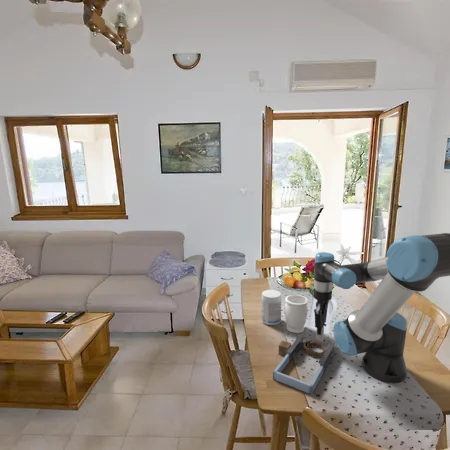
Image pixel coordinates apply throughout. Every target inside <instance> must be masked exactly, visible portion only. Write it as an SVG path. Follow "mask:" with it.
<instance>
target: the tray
mask: <svg viewBox="0 0 450 450" xmlns="http://www.w3.org/2000/svg"><path fill="white" fill-rule="evenodd" d="M288 363H290V361H289V354H286V356H284V357H283V359H281V360H280V362H279V363H278V364H277V366H276V367H275V369H273V372H272V380H275V381H277V382H279V383H282V384H284V385H287V386H289V387H292V388H294V389H297V390H300V391H301V392H304V393H306V394H310V395H313V393H314V391H315V389H316V387H317V386H318V384H319V382H320V380H321V378H322V376H323V375H324V372H323V366H320V365H319V368H318V369H317V371H316V373H315V375H314V376H313V378H312V380H311V382H310V383H309V382H306V381H304V380H300V379H298V378H295V377H293V376H291V375H287V374H284V373H282V372H283V370H284V369H285V368H286V366H287V365H288Z"/></svg>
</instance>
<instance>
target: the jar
mask: <svg viewBox="0 0 450 450" xmlns="http://www.w3.org/2000/svg"><path fill="white" fill-rule="evenodd" d="M284 299H285V300H284V302H285V306H284V316H285V322H286V323H285V324H286V326H285V327H286V330H287V331H288V332H290V333H293V334H301V333H303V332H304V331H305V325H306V322H307V319H308V318H307V317H308V305H307V304H308V303H309V300H308V298H307V297H306V296H303V295H299V294H290V295H287V296H286V297H285V298H284Z"/></svg>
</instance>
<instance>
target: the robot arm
mask: <svg viewBox="0 0 450 450" xmlns="http://www.w3.org/2000/svg"><path fill="white" fill-rule="evenodd" d="M313 269H314V272H313V280H312V282H313V289H312V290H313V291H312V292H313V293H312V297H313V298H314V299H315V300H316V302H315V308H314V309H313V312H314V327H315V328H316V336H315V337H316V338H315V340H316V341H317V342H321V343H323V341H324V335H325V334H324V333H325V327H326V326H327V324H326V323H327V316H328V308H329V304H330V301H331V300H332V297H333V288H334V287H333V284H334V285H335V286H336V287H337V288H341V289H343V290H350V289H351V288H352V287H354V286H355V284H361V283H369V282H376V281H380V282H379V284H378V285H377V287H376V288H375V289H374V291H372V292H371V295H369V297H368V298H367V300H366V301H365V302H364V303H363V304H362V306H361V307H360V309H356V310H353V311H352V312H350V313H349V315H348V317H346V319H344V320H339V321H336V322H335V323H334V324H333V328H332V329H333V336H334V340H335V344H336V345H337V346H338V349H339V351H341V352H342V353H343V354H345V355H347V356H357V355H359V354H364V355H363V357H362V362H361V366H362V369H363V370H364V371H365V372H366V373H367V374H368V375H369V376H371V377H372V378H374V379H376V380H379V381H382V382H386V383H401V382H403V381H405V379H406V378H407V373H408V369H407V365H406V362H405V357H404V353H405V352H404V350H405V345H406V338H407V331H408V327H407V326H408V323H407V321H408V320H407V319H406V317H404V316H403V315H402V314H400V313H399V311H400V310H401V308H402V307H403V306H404V305H405V304H406V303H407V302H408V301H410V300H409V299H411V297H412V296H414V295H415V293H422V292H425V291H426V290H428V289H429V288H430V287H431V285H432V284H433V283H434V282H435V281H436V280H437V279H439V278H444V277H449V276H450V232H445V233H444V232H441V233H435V234H433V233H432V234H424V235H419V234H418V235H415V234H414V235H409V236H406V237H401V238H399V239H397V240H395V241H393V242H392V243H391V245H390V246H389V247H388V250H387V252H386V257H382V258H378V259H373V260H370V261H369V260H368V261H365V262H360V263H350V264H349V263H348V264H339V263H337V262H335V255H334V254H333V253H330V252H324V251H323V252H322V251H321V252H317V253H316V255H315V259H314V268H313Z"/></svg>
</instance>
